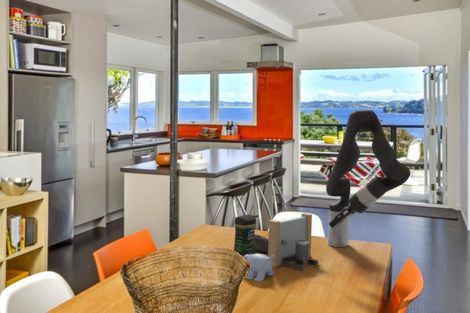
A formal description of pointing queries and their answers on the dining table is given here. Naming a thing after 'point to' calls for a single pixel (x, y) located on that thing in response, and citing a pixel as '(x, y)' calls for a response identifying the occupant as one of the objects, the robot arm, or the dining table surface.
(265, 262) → the hippopotamus toy
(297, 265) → the keeper
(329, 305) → the dining table surface
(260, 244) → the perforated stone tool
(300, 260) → the bar
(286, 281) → the dining table surface
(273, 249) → the door
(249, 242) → the coffee jar
